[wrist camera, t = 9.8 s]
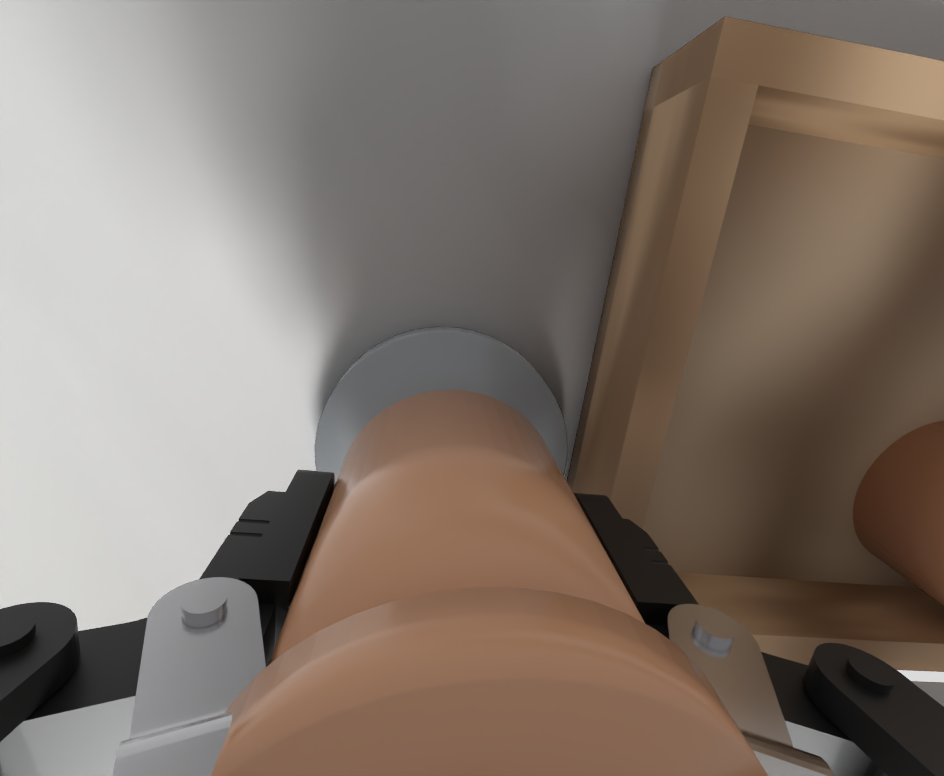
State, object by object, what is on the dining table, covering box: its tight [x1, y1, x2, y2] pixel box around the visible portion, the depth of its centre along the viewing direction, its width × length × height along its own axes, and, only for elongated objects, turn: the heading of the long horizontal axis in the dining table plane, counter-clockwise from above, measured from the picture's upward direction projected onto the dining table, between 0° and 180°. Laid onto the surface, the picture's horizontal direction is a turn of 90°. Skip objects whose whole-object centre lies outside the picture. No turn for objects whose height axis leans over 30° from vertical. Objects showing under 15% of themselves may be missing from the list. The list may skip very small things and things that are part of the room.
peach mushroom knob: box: [211, 390, 768, 776], centre depth 8 cm, size 6×6×8 cm
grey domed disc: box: [315, 327, 567, 482], centre depth 15 cm, size 7×7×1 cm
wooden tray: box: [567, 17, 944, 672], centre depth 14 cm, size 16×15×3 cm
